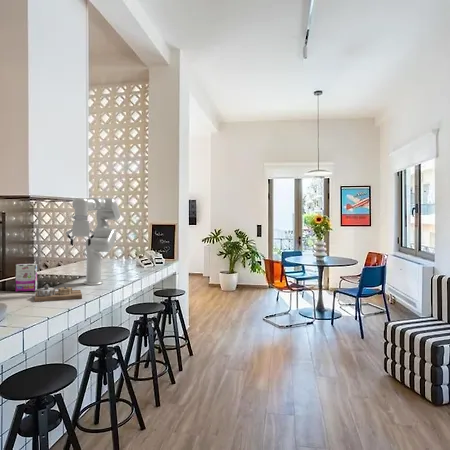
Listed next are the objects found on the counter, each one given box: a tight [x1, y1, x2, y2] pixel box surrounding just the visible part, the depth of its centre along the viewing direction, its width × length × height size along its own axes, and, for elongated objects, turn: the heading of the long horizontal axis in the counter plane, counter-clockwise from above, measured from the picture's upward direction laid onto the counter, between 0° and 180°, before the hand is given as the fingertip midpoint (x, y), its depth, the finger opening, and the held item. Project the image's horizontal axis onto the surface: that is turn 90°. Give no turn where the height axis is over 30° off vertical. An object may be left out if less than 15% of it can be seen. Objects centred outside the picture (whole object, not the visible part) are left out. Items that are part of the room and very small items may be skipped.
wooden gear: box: [57, 286, 73, 295], centre depth 209 cm, size 7×7×3 cm
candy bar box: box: [14, 263, 38, 293], centre depth 221 cm, size 11×5×16 cm, turn 106°
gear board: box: [34, 284, 83, 303], centre depth 208 cm, size 15×24×7 cm, turn 115°
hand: (80, 245), depth 225 cm, fingers open, 9 cm apart
